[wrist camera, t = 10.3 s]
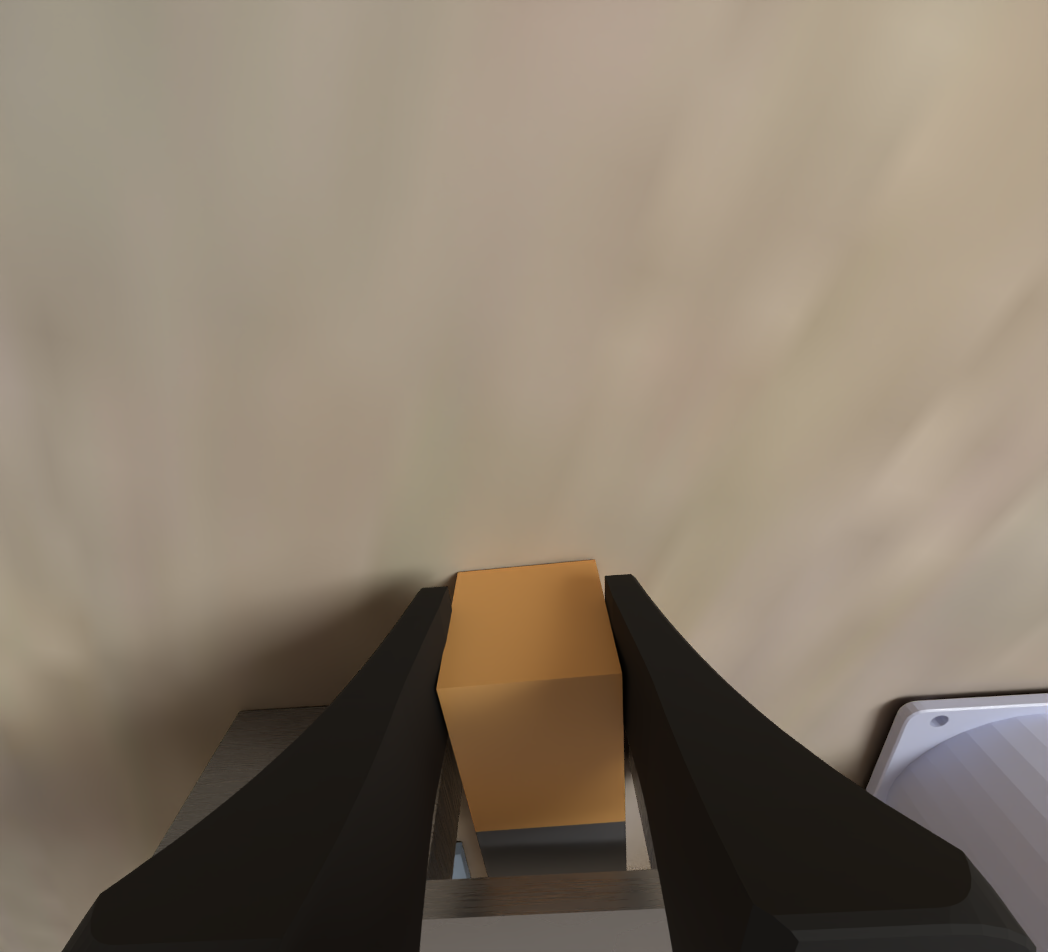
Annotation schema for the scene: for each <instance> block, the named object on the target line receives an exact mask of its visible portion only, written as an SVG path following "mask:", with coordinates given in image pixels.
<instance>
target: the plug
mask: <svg viewBox="0 0 1048 952" xmlns="http://www.w3.org/2000/svg"><path fill="white" fill-rule="evenodd" d="M436 690H437V693H438V697H439V701H440V704H441V708H442V711H443V715H444V719H445V722H446V726H447V730H448V733H449V737H450V740H451V744H452V748H453V751H454V755H455V759H456V762H457V766H458V769H459V773H460V777H461V780H462V784H463V787H464V791H465V795H466V798H467V802H468V806H469V809H470V813H471V816H472V820H473V824H474V827H475V831H476V835H477V838H478V842H479V845H480V849H481V853H482V856H483V860H484V864H485V867H486V871H487V874H488V877H507V876H528V875H549V874H569V873H590V872H611V871H626V826H625V780H624V735H623V689H622V671H621V666H620V662H619V658H618V654H617V650H616V645H615V641H614V637H613V633H612V629H611V625H610V620H609V616H608V612H607V608H606V604H605V599H604V595H603V591H602V587H601V583H600V579H599V574H598V570H597V566H596V562H595V560H585V561H575V562H564V563H553V564H542V565H532V566H521V567H510V568H500V569H489V570H478V571H468V572H458V575H457V580H456V585H455V591H454V596H453V601H452V614H451V619H450V624H449V630H448V635H447V641H446V645H445V648H444V651H443V655H442V661H441V666H440V672H439V677H438V682H437V688H436Z"/></svg>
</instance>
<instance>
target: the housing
mask: <svg viewBox="0 0 1048 952" xmlns="http://www.w3.org/2000/svg"><path fill="white" fill-rule="evenodd" d="M327 707H328V706H324V707H307V708H291V709H274V710H257V711H240V712H239V713H238V715H237V716H236V718H235V720H234V721H233V723H232V725H231V726H230V728H229V730H228V731H227V733H226V735H225V736H224V738H223V740H222V741H221V743H220V745H219V746H218V748H217V750H216V751H215V753H214V755H213V756H212V758H211V760H210V761H209V763H208V765H207V766H206V768H205V770H204V771H203V773H202V775H201V776H200V778H199V780H198V781H197V783H196V785H195V786H194V788H193V790H192V791H191V793H190V795H189V796H188V798H187V800H186V801H185V803H184V805H183V806H182V808H181V810H180V811H179V813H178V815H177V816H176V818H175V820H174V821H173V823H172V825H171V826H170V828H169V830H168V831H167V833H166V835H165V836H164V838H163V840H162V841H161V843H160V845H159V846H158V848H157V850H156V851H155V853H154V855H156V854H157V853H158V852H160V851H161V850H163V849H164V848H165V847H167V846H168V845H170V844H171V843H172V842H174V841H175V840H177V839H178V838H179V837H180V836H182V835H183V834H184V833H186V832H187V831H188V830H190V829H191V828H192V827H194V826H195V825H196V824H197V823H199V822H200V821H201V820H203V819H204V818H205V817H206V816H208V815H209V814H210V813H211V812H213V811H214V810H215V809H216V808H218V807H219V806H220V805H222V804H223V803H224V802H225V801H226V800H228V799H229V798H230V797H231V796H233V795H234V794H235V793H236V792H237V791H239V790H240V789H241V788H242V787H243V786H245V785H246V784H247V783H248V782H249V781H251V780H252V779H253V778H254V777H255V776H256V775H257V774H258V773H260V772H261V771H262V770H263V769H264V768H265V767H266V766H267V765H268V764H270V763H271V762H272V761H273V760H274V759H275V758H276V757H277V756H278V755H280V754H281V753H282V752H283V751H284V750H285V749H286V748H287V747H288V746H289V745H290V744H291V743H292V742H294V741H295V740H296V739H297V738H298V737H299V736H300V735H301V734H302V733H303V732H304V731H305V730H306V729H307V728H308V727H309V726H310V725H311V724H312V723H313V722H314V721H315V720H316V719H317V718H318V717H319V716H320V715H321V714H322V713H323V711H324V710H325V709H326V708H327ZM629 764H630V769H631V774H632V779H633V784H634V788H635V793H636V798H637V803H638V808H639V812H640V817H641V822H642V827H643V831H644V836H645V841H646V846H647V851H648V855H649V860H650V865H651V870H631V871H611V872H590V873H569V874H549V875H528V876H507V877H487V878H466V879H452V877H453V868H454V859H455V849H456V840H457V831H458V821H459V812H460V803H461V793H462V780H461V777H460V773H459V769H458V766H457V762H456V759H455V755H454V751H453V748H452V744H451V740H450V737H449V734H448V739H447V744H446V749H445V754H444V759H443V764H442V769H441V774H440V779H439V784H438V789H437V795H436V801H435V807H434V814H433V821H432V831H431V840H430V849H429V858H428V867H427V877H426V888H425V898H424V908H423V919H422V929H421V941H420V952H673V951H672V946H671V940H670V934H669V929H668V923H667V917H666V912H665V906H664V901H663V896H662V890H661V885H660V879H659V874H658V869H657V863H656V858H655V853H654V847H653V842H652V837H651V832H650V827H649V821H648V816H647V811H646V806H645V802H644V797H643V793H642V789H641V785H640V781H639V777H638V774H637V770H636V767H635V763H634V760H633V756H632V753H631V749H630V745H629ZM154 855H153V856H154ZM153 856H152V857H153Z"/></svg>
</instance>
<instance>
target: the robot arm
mask: <svg viewBox="0 0 1048 952" xmlns="http://www.w3.org/2000/svg"><path fill="white" fill-rule="evenodd" d="M605 604H606V608H607V612H608V616H609V620H610V625H611V629H612V633H613V637H614V641H615V645H616V650H617V654H618V658H619V662H620V666H621V671H622V689H623V724H624V728H625V731H626V735H627V738H628V742H629V745H630V749H631V753H632V756H633V760H634V763H635V767H636V770H637V774H638V777H639V781H640V785H641V789H642V793H643V797H644V802H645V806H646V811H647V816H648V821H649V827H650V832H651V837H652V842H653V847H654V853H655V858H656V863H657V869H658V874H659V879H660V885H661V890H662V896H663V901H664V906H665V912H666V917H667V923H668V929H669V934H670V940H671V946H672V951H673V952H1048V693H1040V694H1023V695H1005V696H988V697H971V698H953V699H936V700H919V701H912V702H909V703H906V704H904V705H903V706H902V707H900V709H899V710H898V712H897V714H896V717H895V719H894V722H893V724H892V727H891V729H890V732H889V734H888V737H887V739H886V741H885V744H884V746H883V749H882V751H881V754H880V756H879V759H878V761H877V763H876V766H875V768H874V771H873V773H872V776H871V778H870V781H869V783H868V786H867V788H866V790H864V789H863V788H861V787H860V786H858V785H857V784H855V783H854V782H852V781H851V780H849V779H848V778H846V777H845V776H844V775H842V774H841V773H839V772H838V771H836V770H835V769H833V768H832V767H831V766H829V765H828V764H827V763H825V762H824V761H823V760H821V759H820V758H819V757H817V756H816V755H815V754H813V753H812V752H811V751H809V750H808V749H807V748H805V747H804V746H803V745H801V744H800V743H799V742H797V741H796V740H795V739H793V738H792V737H791V736H789V735H788V734H787V733H785V732H784V731H783V730H781V729H780V728H779V727H778V726H777V725H775V724H774V723H773V722H772V721H770V720H769V719H768V718H767V717H766V716H764V715H763V714H762V713H761V712H760V711H758V710H757V709H756V708H755V707H754V706H753V705H752V704H750V703H749V702H748V701H747V700H746V699H745V698H744V697H742V696H741V695H740V694H739V693H738V692H737V691H736V690H735V689H734V688H733V687H731V686H730V685H729V684H728V683H727V682H726V681H725V680H724V679H723V678H722V677H721V676H720V675H719V674H718V673H717V672H716V671H715V670H714V669H713V668H712V667H711V666H710V665H709V664H708V663H707V662H706V661H705V660H704V659H703V658H702V657H701V656H700V655H699V654H698V653H697V652H696V651H695V650H694V649H693V648H692V647H691V645H690V644H689V643H688V642H687V641H686V640H685V639H684V638H683V637H682V635H681V634H680V633H679V632H678V631H677V630H676V629H675V627H674V626H673V625H672V624H671V623H670V622H669V621H668V619H667V618H666V617H665V616H664V615H663V613H662V612H661V611H660V610H659V608H658V607H657V606H656V605H655V603H654V602H653V601H652V600H651V598H650V597H649V596H648V594H647V593H646V592H645V590H644V589H643V588H642V586H641V585H640V584H639V582H638V581H637V579H636V578H635V577H634V576H633V575H631V574H627V575H612V576H605ZM451 614H452V606H451V601H450V596H449V590H448V586H446V587H431V588H422V589H421V590H420V591H419V592H418V593H417V595H416V596H415V598H414V599H413V601H412V602H411V603H410V605H409V606H408V608H407V609H406V611H405V612H404V613H403V615H402V616H401V618H400V619H399V620H398V622H397V623H396V625H395V626H394V627H393V629H392V630H391V631H390V633H389V634H388V635H387V637H386V638H385V639H384V641H383V642H382V643H381V644H380V646H379V647H378V648H377V650H376V651H375V652H374V654H373V655H372V656H371V657H370V659H369V660H368V661H367V662H366V664H365V665H364V666H363V667H362V668H361V670H360V671H359V672H358V673H357V674H356V675H355V677H354V678H353V679H352V680H351V681H350V683H349V684H348V685H347V686H346V687H345V688H344V690H343V691H342V692H341V693H340V694H339V695H338V696H337V697H336V699H335V700H334V701H333V702H332V703H331V704H330V705H329V706H328V707H327V708H326V709H325V710H324V711H323V713H322V714H321V715H320V716H319V717H318V718H317V719H316V720H315V721H314V722H313V723H312V724H311V725H310V726H309V727H308V728H307V729H306V730H305V731H304V732H303V733H302V734H301V735H300V736H299V737H298V738H297V739H296V740H295V741H294V742H292V743H291V744H290V745H289V746H288V747H287V748H286V749H285V750H284V751H283V752H282V753H281V754H280V755H278V756H277V757H276V758H275V759H274V760H273V761H272V762H271V763H270V764H268V765H267V766H266V767H265V768H264V769H263V770H262V771H261V772H260V773H258V774H257V775H256V776H255V777H254V778H253V779H252V780H251V781H249V782H248V783H247V784H246V785H245V786H243V787H242V788H241V789H240V790H239V791H237V792H236V793H235V794H234V795H233V796H231V797H230V798H229V799H228V800H226V801H225V802H224V803H223V804H222V805H220V806H219V807H218V808H216V809H215V810H214V811H213V812H211V813H210V814H209V815H208V816H206V817H205V818H204V819H203V820H201V821H200V822H199V823H197V824H196V825H195V826H194V827H192V828H191V829H190V830H188V831H187V832H186V833H184V834H183V835H182V836H180V837H179V838H178V839H177V840H175V841H174V842H172V843H171V844H170V845H168V846H167V847H165V848H164V849H163V850H161V851H160V852H158V853H157V854H156V855H154V856H153V857H152V858H150V859H149V860H147V861H146V862H145V863H143V864H142V865H140V866H139V867H138V868H136V869H135V870H133V871H132V872H131V873H129V874H128V875H127V876H125V877H124V878H122V879H121V880H120V881H118V882H117V883H115V884H114V885H112V886H111V887H109V888H108V889H107V890H105V891H104V892H102V893H101V894H100V895H99V897H98V898H97V899H96V901H95V902H94V904H93V905H92V907H91V908H90V909H89V911H88V912H87V914H86V915H85V917H84V918H83V920H82V921H81V923H80V924H79V926H78V927H77V929H76V930H75V932H74V933H73V935H72V937H71V938H70V940H69V941H68V943H67V944H66V946H65V947H64V949H63V951H62V952H420V941H421V929H422V919H423V908H424V898H425V888H426V877H427V867H428V858H429V849H430V840H431V831H432V821H433V814H434V807H435V801H436V795H437V789H438V784H439V779H440V774H441V769H442V764H443V759H444V754H445V749H446V744H447V739H448V734H449V733H448V730H447V726H446V722H445V719H444V715H443V711H442V708H441V704H440V701H439V697H438V693H437V690H436V688H437V682H438V677H439V672H440V666H441V661H442V655H443V651H444V648H445V645H446V641H447V635H448V630H449V624H450V619H451Z"/></svg>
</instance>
